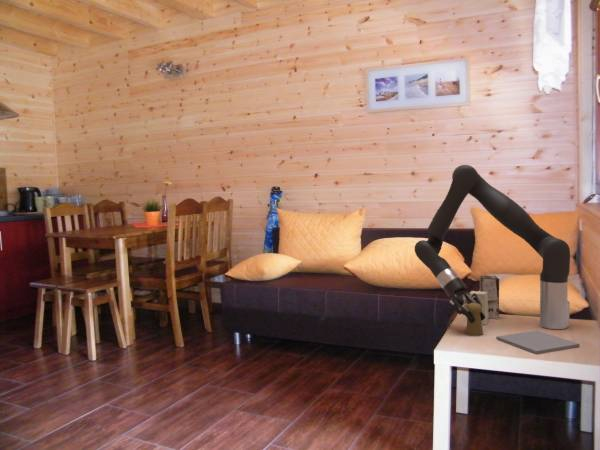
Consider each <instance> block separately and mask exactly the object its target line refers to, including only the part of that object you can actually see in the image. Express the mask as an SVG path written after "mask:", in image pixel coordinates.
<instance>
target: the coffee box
mask: <svg viewBox="0 0 600 450" xmlns="http://www.w3.org/2000/svg"><path fill="white" fill-rule="evenodd" d="M479 291H481V292H488V319H494V320H497V319H500V279H499V277H498V276H496V275H479Z"/></svg>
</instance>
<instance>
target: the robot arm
mask: <svg viewBox="0 0 600 450" xmlns="http://www.w3.org/2000/svg"><path fill="white" fill-rule="evenodd" d="M451 177H452V178H451V183H450V186H449V190H448V191H447V194H446V196H445V197H444V199H443V201H442V203H441V205H440V206H439V208H438V209H437V211H436V212H435V214H434V216H433V218H432V220H431V222H430V223H429V226H428V227H427V233H428V237H427V238H428V239H427V240H425V239H424V240H423V239H422V240H419V241H417V242H415V243H416V244H415V246H414V253H415V255H416V257H417V258H418V260H420V261H421V263H422V264H423V265H424V266H426V267H427V268H428V269H429V270H430V272H431V273H432V275H433V276H434V278H435V279H436V280H437V282H438V284H439V286H440V287H441V289H442V290H443V291H444V292H445V294H446V296H448V298H449V299H450V300H449V302H448V304H449V305H450V306H451V307H452V308H453V309H454V310H455V312H456V313H457V314H458V315H463V316H465V317H466V319H468V320H469V321H470V323H474V322H475V321H476V319H475V318H474V316H473V315H472V313H471V312H469V309H468V304H470V303H471V302H472V303H478V304H480V305H481V307H482V304H481V302H480V300H479V299H478V297H477V295H476V294H475V293H474V294H473V295H470V294H469V293H470V292H468V291H467V288H468V287H467V284H465V282H464V281H463V280H462V279H461V277H460V276H459V274H458V273H457V272H456V271H455V270H454V269H453V267H451V265H450V264H449V262H448V261H447V260H446V259H445V258H444V257H441V256H440V255H439V254H440V252H441V250H442V247H443V245H444V244H443V243H444V239H445V236H446V235H447V232H448V231H449V229H450V227H451V225H452V223H453V222H454V221H453V220H454V218H455V217H456V214H457V213H458V211H459V209H460V207H461V205H462V203H463V202H464V200H465V199H466V197H467V196H468V194H469V195H470V196H471V197H473V198H474V199H475V200H477V201H478V202H479V203H480V204H481V205H482V207H483V208H484V209H485V210H486V211H487V212H488V213H489V214H490V215H491V216H492V217H493V219H495V220H496V221H497V222H499V223H500V224H501V225H502V226H504V227H505V228H506V229H508V230H509V231H510V232H512V233H513V234H515V235H516V236H518V237H519V238H521V239H523V241H525V242H526V243H527V244H528V245H529V246H530V247H531V248H532V249H533V250H534V251H535V252H536V253H537V254H538V255H539V256H540V257H541V258H542V269H541V272H540V274H539V326H540V327H542V328H543V329H544V328H545V329H550V330H566V329H567V328H569V327H570V301H569V300H568V296H569V295H568V292H569V291H568V289H569V288H568V284H569V283H568V279H569V276H570V271H571V250H570V246H569V244H568V243H567V242H566V241H565V240H563V239H560V238H558V237H555V236H553V235H552V234H551V233H549V232H547V231H546V230H545V229H543V228H541V227H540V226H539V225H538V224H537V223H536V222H535V221H534V219H533V218H532V217H531V216H530V215H529V213H528V212H527V211H526V210H525V209H524V208H523V207H522V206H520V205H519V204H518V203H517V202H516V201H514V200H513V199H512V198H510V197H509V196H507V195H506V194H504V193H503V192H502V191H500V190H499V189H497V188H495V187H493V186H492V185H491V184H490V183H488V182H487V181H486V180H485V178H483V177H482V176H481V175H480V174H479V173H478V171H477V170H476V168H474V167H473V166H471V165H469V164H461V165H459V166H457V167H456V168H455V169H454V170H453V172H452V175H451ZM480 316H481V321H482V320H484V319H485V315H484V314H483V312H482V311H481V313H480Z"/></svg>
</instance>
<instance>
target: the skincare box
mask: <svg viewBox="0 0 600 450" xmlns="http://www.w3.org/2000/svg"><path fill="white" fill-rule="evenodd" d="M468 293H469V294H470V295H473V294H474V293H475V294H476V295H477V297H478V299H479V300H480V302H481V304H482V312H483V314H484V315H485V319H484V320H482V321H481V323H482V326H483V325H485V326H486V325H487V324H488V323H489V318H488V292H481V291H480V290H477V291H476V290H471V291H470V292H468ZM471 303H472V302H471ZM477 304H478V303H477Z"/></svg>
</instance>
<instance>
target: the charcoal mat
mask: <svg viewBox="0 0 600 450" xmlns="http://www.w3.org/2000/svg"><path fill="white" fill-rule="evenodd" d="M495 339H496V340H497V341H500V342H501V343H505V344H508V345H510V346H513V347H516V348H518V349H521V350H524V351H527V352H529V353H531V354H534V355H541V354H546V353H551V352H557V351H563V350H569V349H574V348H580V343H577V342H575V341H572V340H569V339H565V338H562V337H560V336H555V335H553V334H549V333H547V332H543V331H540V330H536V329H535V330H531V331H523V332H517V333H511V334H503V335H497V336H496V337H495Z"/></svg>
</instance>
